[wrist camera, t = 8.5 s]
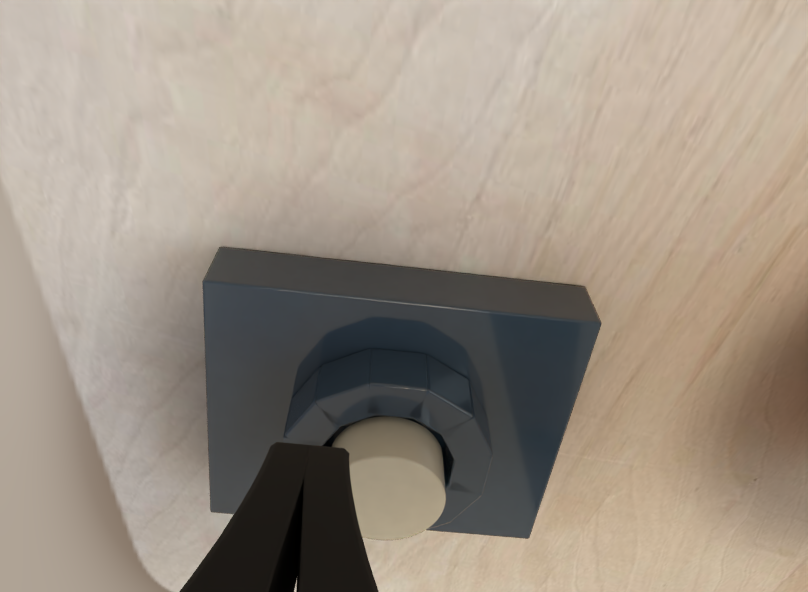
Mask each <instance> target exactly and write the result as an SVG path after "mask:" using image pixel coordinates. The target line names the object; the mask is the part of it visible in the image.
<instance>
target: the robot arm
mask: <svg viewBox="0 0 808 592" xmlns="http://www.w3.org/2000/svg"><path fill="white" fill-rule="evenodd" d="M349 454H350V453H349V452H348V451H347V450H346V449H345V448H338V447H327V446H316V445H305V444H294V443H282V442H276V443H274V444H273V445H271V446H270V448H269V451H268V453H267V456H266V458H265V460H264V462H263V464H262V466H261V468H260V470H259V472H258V474H257V476H256V478H255V480H254V482H253V484H252V485H251V487H250V489H249V491H248V492H247V494H246V496H245V498H244V499H243V501H242V503H241V504H240V506H239V507H238V509H237V511H236V512H235V514H234V515H233V517H232V518H231V520H230V522H229V523H228V525H227V526H226V528H225V529H224V531H223V533H222V534H221V536H220V537H219V539H218V540H217V541H216V543H215V544H214V546H213V547H212V548H211V550H210V551H209V553H208V554H207V555H206V557H205V558H204V560H203V561H202V562H201V564H200V565H199V566H198V568H197V569H196V571H195V572H194V573H193V575H192V576H191V577H190V579H189V580H188V581H187V583H186V584H185V585H184V587H183V588H182V589H181V590H180V592H294V588H295V584H296V580H297V592H378V589H377V586H376V583H375V580H374V577H373V574H372V571H371V567H370V564H369V561H368V557H367V554H366V550H365V546H364V542H363V539H362V535H361V531H360V527H359V523H358V519H357V514H356V510H355V504H354V499H353V493H352V486H351V479H350V466H349Z"/></svg>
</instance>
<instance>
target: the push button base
mask: <svg viewBox="0 0 808 592" xmlns="http://www.w3.org/2000/svg"><path fill="white" fill-rule="evenodd" d="M202 283H203V312H204V341H205V369H206V398H207V427H208V455H209V484H210V510H211V512H214V513H226V514H235V512H236V511H237V509H238V507H239V506H240V504H241V503H242V501H243V499H244V498H245V496H246V494H247V492H248V491H249V489H250V487H251V485H252V484H253V482H254V480H255V478H256V476H257V474H258V472H259V470H260V468H261V466H262V464H263V462H264V460H265V458H266V456H267V453H268V451H269V448H270V446H271V445H273V444H274V443H276V442H282V443H294V444H305V445H316V446H327V447H332V444H333V442H334V441H335V439H336V438H337V436H338V435H339V434H340V433H341V432H342V431H343V430H344V429H346V428H347V427H348V426H350V425H352V424H354V423H356V422H358V421H360V420H363V419H367V418H371V417H377V416H390V417H401V418H405V419H408V420H411V421H414V422H416V423H418V424H420V425H422V426H423V427H425V428H426V429H428V430H429V431H430V432H431V433H432V434H433V435H434V436H435V437H436V439H437V440H438V442H439V444H440V446H441V448H442V452H443V462H444V476H445V490H446V503H445V507H444V510H443V512H442V514H441V516H440V517H439V518H438V520H437V521H436V522H435V523H434V524H433V525H432V526H431V527H429V528H428V529H426V530H430V531H442V532H454V533H466V534H478V535H490V536H502V537H514V538H526V539H528V538H529V537H530V534H531V531H532V528H533V525H534V522H535V519H536V516H537V513H538V510H539V507H540V504H541V501H542V498H543V495H544V492H545V489H546V487H547V484H548V481H549V478H550V475H551V472H552V469H553V466H554V463H555V460H556V457H557V454H558V451H559V448H560V445H561V442H562V439H563V436H564V433H565V430H566V427H567V424H568V421H569V418H570V416H571V413H572V410H573V407H574V404H575V401H576V398H577V395H578V392H579V389H580V386H581V383H582V380H583V377H584V374H585V371H586V368H587V365H588V362H589V359H590V356H591V353H592V350H593V347H594V345H595V342H596V339H597V336H598V333H599V330H600V327H601V321H600V318H599V316H598V314H597V312H596V309H595V307H594V305H593V303H592V300H591V298H590V296H589V294H588V292H587V289H586V288H585V287H583V286H574V285H564V284H555V283H546V282H537V281H528V280H519V279H510V278H501V277H492V276H482V275H473V274H464V273H455V272H446V271H437V270H428V269H419V268H409V267H400V266H391V265H382V264H373V263H364V262H355V261H346V260H336V259H327V258H318V257H309V256H300V255H291V254H282V253H273V252H264V251H254V250H245V249H236V248H227V247H219V249H218V251H217V253H216V255H215V257H214V259H213V261H212V263H211V265H210V267H209V269H208V271H207V273H206V275H205V277H204V279H203V281H202Z"/></svg>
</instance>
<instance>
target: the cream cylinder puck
mask: <svg viewBox="0 0 808 592" xmlns="http://www.w3.org/2000/svg"><path fill="white" fill-rule="evenodd" d="M332 447H338V448H345V449H346V450H347V451H348V452H349V453H350V454H349V466H350V479H351V486H352V493H353V499H354V504H355V510H356V514H357V519H358V523H359V527H360V531H361V535H362V537H364V538H368V539H374V540H398V539H404V538H408V537H411V536H414V535H417V534H419V533H421V532H423V531H425V530H426V529H428V528H429V527H431V526H432V525H433V524H434V523H435V522H436V521H437V520H438V518H439V517H440V516H441V514H442V512H443V510H444V507H445V503H446V490H445V476H444V462H443V452H442V448H441V446H440V444H439V442H438V440H437V439H436V437H435V436H434V435H433V434H432V433H431V432H430V431H429V430H428V429H426V428H425V427H423V426H422V425H420V424H418V423H416V422H414V421H411V420H408V419H405V418H401V417H390V416H377V417H371V418H367V419H363V420H360V421H358V422H356V423H354V424H352V425H350V426H348V427H347V428H346V429H344V430H343V431H342V432H341V433H340V434H339V435H338V436H337V438H336V439H335V441H334V442H333V444H332Z"/></svg>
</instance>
